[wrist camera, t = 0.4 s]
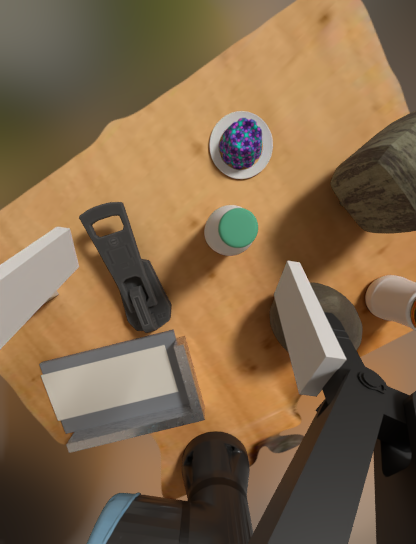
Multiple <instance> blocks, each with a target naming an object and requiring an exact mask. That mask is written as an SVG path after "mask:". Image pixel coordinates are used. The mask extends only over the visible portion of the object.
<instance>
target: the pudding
mask: <svg viewBox="0 0 416 544" xmlns="http://www.w3.org/2000/svg"><path fill="white" fill-rule="evenodd" d="M225 130H226V131H225ZM224 131H225V132H224ZM223 132H224V134H223ZM222 134H223V140H222V141H221V142H220V146H219V141H220V138H221V135H222ZM262 141H263V151H262V155H261V150H262ZM219 148H220V151H221V152H222V153H223V159H222V158H221V155H220V152H219ZM272 149H273V140H272V135H271V132H270V130H269V128H268V126H267V124H266V123H265V122H264V121H263V120H262V119H261V118H260V117H258V116H257V115H255V114H253V113H250V112H245V111H238V112H233V113H230V114H228V115H226V116H225V117H223V118H222V119H221V120H220V121H219V122H218V123H217V124H216V126H215V127H214V129H213V131H212V134H211V138H210V153H211V157H212V160H213V162H214V164H215V165H216V167H217V168H218V169H219V170H220V171H221V172H222V173H224V174H225V175H227V176H229V177H232V178H235V179H246V178H250V177H253V176H255V175H257V174H258V173H259V172H261V171H262V170H263V169H264V168H265V166H266V165H267V163H268V162H269V160H270V158H271V154H272ZM260 155H261V157H260ZM259 157H260V159H259V160H258V162H257V163H256V164H255V165H254V166H252V165H253V164H254V162H255V159H258V158H259ZM223 160H224V161H225V162H226V163H227V164H232V166H233V168H235V169H233V168H231V167H229V166H228V165H227V164H226V163H225V162H224V161H223ZM251 166H252V167H251ZM242 167H247V168H248V167H250V168H248V169H245V170H236V169H241V168H242Z"/></svg>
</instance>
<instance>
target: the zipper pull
mask: <svg viewBox="0 0 416 544" xmlns="http://www.w3.org/2000/svg"><path fill="white" fill-rule="evenodd" d="M117 215H118V216H120V218H121V220H122V223H123V225H124V227H123V230H121V231H118V232H115V233H112V234H109V235H106V236H103V237H99V236H97V235H96V233H95V231H94V228H93V226H92V225H93V224H94V223H95V222H97V221H98V220H101V219H104V218H107V217H110V216H117ZM79 219H80V220H81V222H82V224H83V226H84V227H85V229H86V231H87V233H88V235H89V236H90V238H91V240H92V241H93V243H94V245H95V247H96V248H97V250H98V252H99V254H100V255H101V257H102V259H103V261H104V263H105V264H106V266H107V268H108V270H109V271H110V273H111V275H112V277H113V279H114V280H115V282H116V284H117V286H118V288H119V290H120V294H121V297H122V301H123V305H124V308H125V312H126V316H127V320H128V322H129V323H130V324H131V325H132V326H133V327H134V328H135V329H136V330H137V331H144V332H145V333H148V332H151V331H155V330H157V329H158V328H160V327H161V326H162V325H164V324H165V323H166V322H168V321H169V320H170V317H171V303H170V301H169V299H168V297H167V295H166V293H165V291H164V289H163V287H162V285H161V283H160V281H159V279H158V277H157V275H156V273H155V271H154V269H153V267H152V265H151V263H150V261H149V260H145V259H141V257H140V254H139V251H138V248H137V245H136V241H135V238H134V235H133V232H132V229H131V226H130V222H129V219H128V216H127V213H126V210H125V207H124V204H123V203H122V202H110V203H106V204H102V205H99V206H96V207H93V208H91V209H89V210H87V211H86V212H84V213H83V214H81V215H80V216H79Z"/></svg>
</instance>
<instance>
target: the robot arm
mask: <svg viewBox="0 0 416 544" xmlns="http://www.w3.org/2000/svg"><path fill="white" fill-rule="evenodd" d="M78 267H79V265H78V260H77V256H76V252H75V248H74V244H73V240H72V235H71V231H70V229H69V228H62V227H56V228H54V229H53V230H51V231H50V232H48V233H47V234H45V235H44V236H42V237H41V238H40V239H38V240H37V241H35V242H34V243H32V244H31V245H29V246H28V247H26V248H25V249H23V250H22V251H20V252H19V253H17V254H16V255H14V256H13V257H11V258H10V259H8V260H7V261H5V262H4V263H3V264H1V265H0V349H1V348H2V347H3V346H4V345H5V344H6V343H7V342H8V341H9V340H10V339H11V337H12V336H13V335H14V334H15V333H16V332H17V331H18V330H19V329H20V328H21V327H22V326H23V325H24V324H25V323H26V322H27V321H28V320H29V319H30V318H31V317H32V315H33V314H34V313H35V312H36V311H37V310H38V309H39V308H40V307H41V306H42V305H43V304H44V303H45V302H46V301H47V300H48V299H49V298H50V297H51V296H52V295H53V293H54V292H55V291H56V290H57V289H58V288H59V287H60V286H61V285H62V284H63V283H64V282H65V281H66V280H67V279H68V278H69V277H70V276H71V275H72V274H73V273H74V271H75V270H76V269H77V268H78ZM274 297H275V301H276V305H277V309H278V313H279V317H280V321H281V325H282V329H283V332H284V336H285V340H286V344H287V348H288V352H289V356H290V360H291V364H292V367H293V371H294V375H295V379H296V383H297V387H298V391H299V394H302V395H309V396H317V395H318V394H319V393H320V392H321V390H323V392H324V395H325V398H326V399H325V400H324V401H323V402H322V404H320V406H319V407H318V408H317V409H316V411H317V414H316V416H315V417H314V419H313V421H312V423H311V425H310V427H309V429H308V431H307V433H306V434H305V436H304V438H303V440H302V442H301V444H300V446H299V448H298V450H297V451H296V453H295V455H294V458H293V459H292V461H291V463H290V465H289V467H288V468H287V470H286V472H285V474H284V476H283V478H282V480H281V482H280V484H279V485H278V487H277V489H276V491H275V493H274V495H273V497H272V499H271V501H270V503H269V505H268V506H267V508H266V510H265V512H264V514H263V516H262V518H261V520H260V521H259V523H258V525H257V527H256V529H255V531H254V533H253V530H252V524H251V518H250V513H249V508H248V502H247V487H248V477H249V460H248V456H247V452H246V449H245V447H244V445H243V444H242V443H241V442H240V441H239V440H238V439H237V438H236V437H234V436H232V435H230V434H227V433H224V432H208V433H205V434H202V435H200V436H198V437H196V438H195V439H193V440H192V441H191V442H190V443H189V444H188V446H187V447H186V449H185V451H184V454H183V460H182V476H183V480H184V485H185V489H186V494H187V498H188V501H182V500H176V499H169V498H161V497H154V496H147V495H141V493H136V494H130V493H129V494H128V493H118V494H116V495H114V496H113V497H112V498H111V499H110V500H109V501H108V502H107V504H106V506H105V507H104V508H103V510H102V512H101V514H100V516H99V518H98V520H97V522H96V524H95V526H94V528H93V531H92V533H91V535H90V537H89V540H88V542H87V544H348V542H349V538H350V534H351V531H352V527H353V523H354V520H355V516H356V513H357V509H358V505H359V501H360V498H361V494H362V490H363V487H364V483H365V479H366V476H367V473H368V469H369V465H370V462H371V458H372V454H373V451H374V479H375V511H376V541H377V544H416V391H415V392H414V393H412V394H411V395H407V394H405V393H402V392H400V391H398V390H395V389H393V388H390V387H388V386H387V385H386V383H385V382H384V380H383V379H382V378H381V377H380V376H379V375H378V374H377V373H375V372H374V371H372V370H371V369H369V368H367V367H365V366H364V364H363V362H362V360H361V358H360V357H359V355H358V353H357V351H356V349H355V347H354V345H353V344H352V342H351V340H350V339H349V336H348V334H347V333H346V332H345V329H344V327H343V325H342V323H341V321H340V320H339V319H338V318H337V317H336V316H335V315H334V314H333V313H328V312H323V310H322V307H321V305H320V303H319V301H318V299H317V297H316V295H315V293H314V291H313V289H312V287H311V285H310V283H309V281H308V279H307V276H306V274H305V272H304V270H303V268H302V266H301V264H300V262H294V261H287V262H286V265H285V268H284V270H283V273H282V275H281V278H280V280H279V283H278V285H277V288H276V291H275V293H274Z"/></svg>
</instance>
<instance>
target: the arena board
mask: <svg viewBox="0 0 416 544" xmlns="http://www.w3.org/2000/svg"><path fill="white" fill-rule="evenodd" d="M175 340H176V337H175V333H174V330H169V331H165V332H161V333H157V334H153V335H149V336H145V337H141V338H137V339H133V340H129V341H125V342H121V343H117V344H113V345H109V346H105V347H101V348H97V349H93V350H89V351H85V352H81V353H76V354H72V355H68V356H64V357H60V358H56V359H52V360H48V361H44V362H41V363H40V364H39V365H40V367H41V370H42V373H43V375H41V378H42V380H43V383H44V385H45V388H46V390H47V393H48V396H49V398H50V401H51V403H52V406H53V409H54V411H55V414H56V416H57V419H58V421H60V420H61V422H62V425H63V427H64V430H65V432H66V434H67V433H71V432H75V431H79V430H84V429H88V428H92V427H96V426H100V425H104V424H108V423H112V422H116V421H121V420H125V419H129V418H133V417H137V416H141V415H145V414H149V413H154V412H158V411H162V410H166V409H170V408H174V407H178V406H182V405H187V404H190V402H189V399H188V395H187V392H186V388H185V385H184V381H183V378H182V374H181V371H180V368H179V364H178V361H177V357H176V354H175V350H174V343H175Z"/></svg>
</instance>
